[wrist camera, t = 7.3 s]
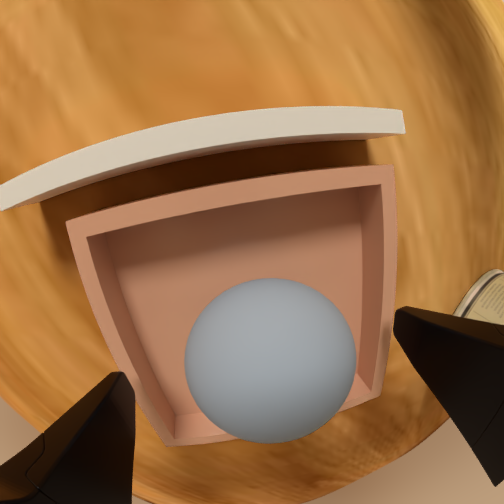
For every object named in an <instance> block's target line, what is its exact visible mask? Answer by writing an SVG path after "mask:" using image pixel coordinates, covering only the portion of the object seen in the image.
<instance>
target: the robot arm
mask: <svg viewBox="0 0 504 504" xmlns="http://www.w3.org/2000/svg"><path fill="white" fill-rule="evenodd" d="M393 333H394V336H395V338H396V339H397V341H398V342H399V344H400V346H401V347H402V349H403V350H404V352H405V354H406V355H407V357H408V359H409V360H410V362H411V364H412V365H413V367H414V368H415V369H416V371H417V372H418V374H419V375H420V376H421V377H422V379H423V380H424V381H425V383H426V384H427V386H428V387H429V388H430V390H431V391H432V392H433V394H434V395H435V396H436V398H437V399H438V401H439V402H440V403H441V405H442V406H443V408H444V409H445V410H446V412H447V413H448V415H449V416H450V418H451V419H452V420H453V422H454V423H455V425H456V426H457V428H458V429H459V431H460V432H461V433H462V435H463V437H464V438H465V440H466V441H467V443H468V444H469V446H470V447H471V448H472V451H473V452H474V454H475V455H476V457H477V458H478V460H479V462H480V463H481V465H482V467H483V468H484V470H485V472H486V473H487V475H488V477H489V478H490V480H491V482H492V483H493V485H494V486H495V487H496V486H497V485H498V484H500V483H501V482H502V481H503V480H504V325H501V324H496V323H490V322H485V321H479V320H474V319H469V318H464V317H459V316H453V315H448V314H443V313H438V312H433V311H428V310H423V309H419V308H414V307H409V306H404V307H402V308H399V309H397V310H396V312H395V318H394V326H393ZM134 447H135V392H134V389H133V387H132V385H131V384H130V382H129V380H128V378H127V376H126V374H125V373H124V372H122V371H118V372H111V373H110V374H109V375H108V376H106V377H105V378H104V379H103V380H102V381H101V382H100V383H99V384H97V385H96V386H95V387H94V388H93V389H92V390H91V391H89V392H88V393H87V394H86V395H85V396H84V397H83V398H81V399H80V400H79V401H78V402H77V403H76V404H75V405H74V406H72V407H71V408H70V409H69V410H68V411H67V412H66V413H64V414H63V415H62V416H61V417H60V418H59V419H58V420H57V421H55V422H54V423H53V424H52V425H51V426H50V427H49V428H47V429H46V430H45V431H44V433H42V434H41V435H40V436H38V437H37V438H36V439H35V440H34V441H33V442H31V443H30V444H29V445H28V446H27V447H26V448H24V449H23V450H21V451H20V452H19V453H17V454H16V455H15V456H13V457H12V458H11V459H9V460H8V461H6V462H5V463H4V464H2V465H1V466H0V504H132V476H133V460H134Z"/></svg>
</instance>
